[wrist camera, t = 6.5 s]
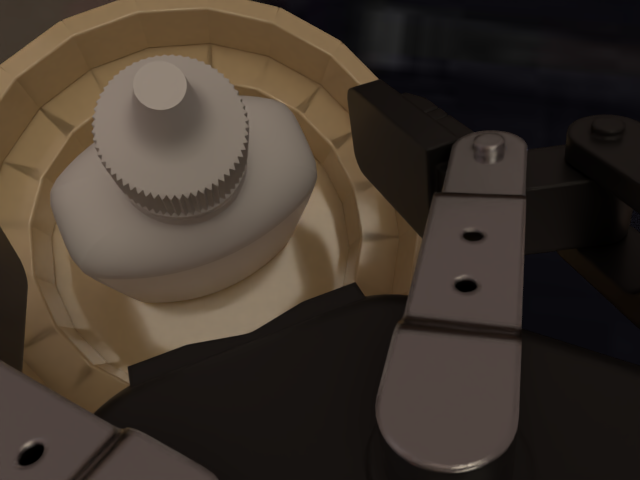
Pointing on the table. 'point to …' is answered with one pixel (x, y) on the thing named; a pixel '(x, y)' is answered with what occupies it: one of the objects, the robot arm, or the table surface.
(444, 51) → the table surface
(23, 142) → the bowl
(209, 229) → the eye dropper bottle
